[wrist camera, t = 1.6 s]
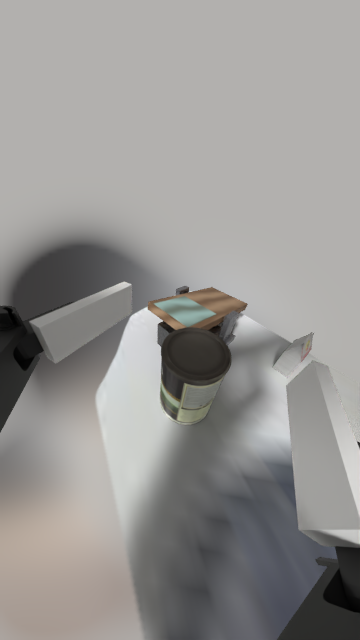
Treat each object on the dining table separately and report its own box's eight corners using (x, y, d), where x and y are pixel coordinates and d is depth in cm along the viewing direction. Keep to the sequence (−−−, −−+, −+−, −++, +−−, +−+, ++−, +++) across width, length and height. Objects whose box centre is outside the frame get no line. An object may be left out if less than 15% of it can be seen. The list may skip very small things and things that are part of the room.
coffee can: (149, 411, 29) (147, 363, 21) (171, 368, 37) (176, 320, 28) (203, 436, 27) (226, 394, 18) (215, 384, 35) (234, 338, 26)
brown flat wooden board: (246, 310, 51) (249, 304, 50) (190, 341, 32) (193, 332, 31) (209, 291, 59) (210, 286, 57) (146, 308, 40) (147, 300, 38)
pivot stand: (248, 325, 53) (260, 299, 47) (194, 375, 36) (201, 344, 30) (201, 300, 63) (206, 276, 57) (142, 329, 46) (140, 300, 40)
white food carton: (272, 367, 40) (293, 338, 34) (283, 355, 44) (304, 327, 38) (287, 378, 38) (312, 349, 32) (297, 364, 42) (322, 336, 36)
